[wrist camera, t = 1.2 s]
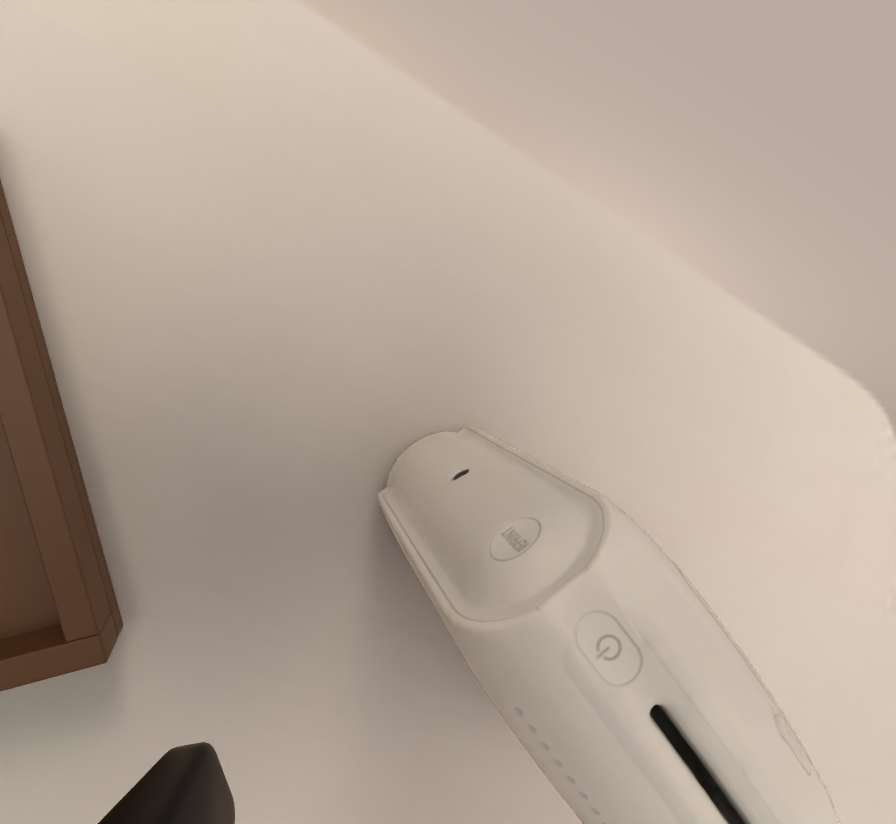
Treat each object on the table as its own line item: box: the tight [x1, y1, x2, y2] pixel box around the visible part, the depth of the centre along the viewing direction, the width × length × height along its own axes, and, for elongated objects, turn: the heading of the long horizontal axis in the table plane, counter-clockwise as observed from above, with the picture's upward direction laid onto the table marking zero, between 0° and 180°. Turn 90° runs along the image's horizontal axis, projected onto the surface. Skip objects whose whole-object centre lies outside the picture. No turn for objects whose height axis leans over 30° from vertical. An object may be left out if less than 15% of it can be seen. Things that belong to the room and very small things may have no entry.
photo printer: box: [378, 426, 840, 824], centre depth 17 cm, size 10×4×12 cm, turn 35°
